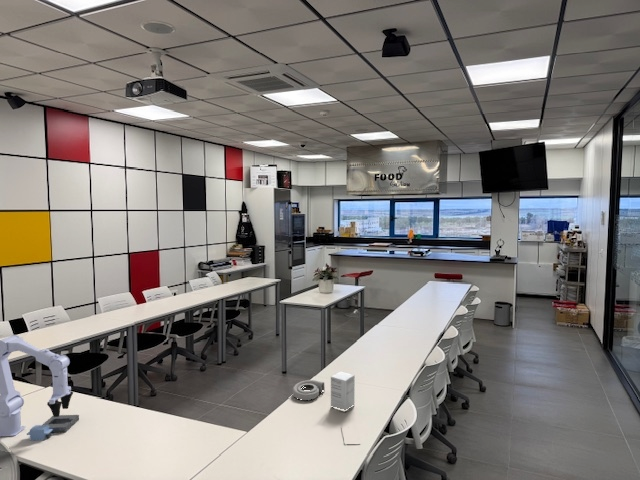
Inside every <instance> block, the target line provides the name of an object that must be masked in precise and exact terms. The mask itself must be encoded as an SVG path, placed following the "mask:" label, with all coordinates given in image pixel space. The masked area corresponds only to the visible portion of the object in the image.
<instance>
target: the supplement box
mask: <svg viewBox="0 0 640 480" xmlns="http://www.w3.org/2000/svg"><path fill="white" fill-rule="evenodd" d="M352 405H354V406H355V374H352V373H348V372H344V371H338V372H337V373H335V374H333V375H332V376H330V407H331V406H333V407H337V408H340V409H344V410H346V409H348V408H349V407H351V406H352Z"/></svg>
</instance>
